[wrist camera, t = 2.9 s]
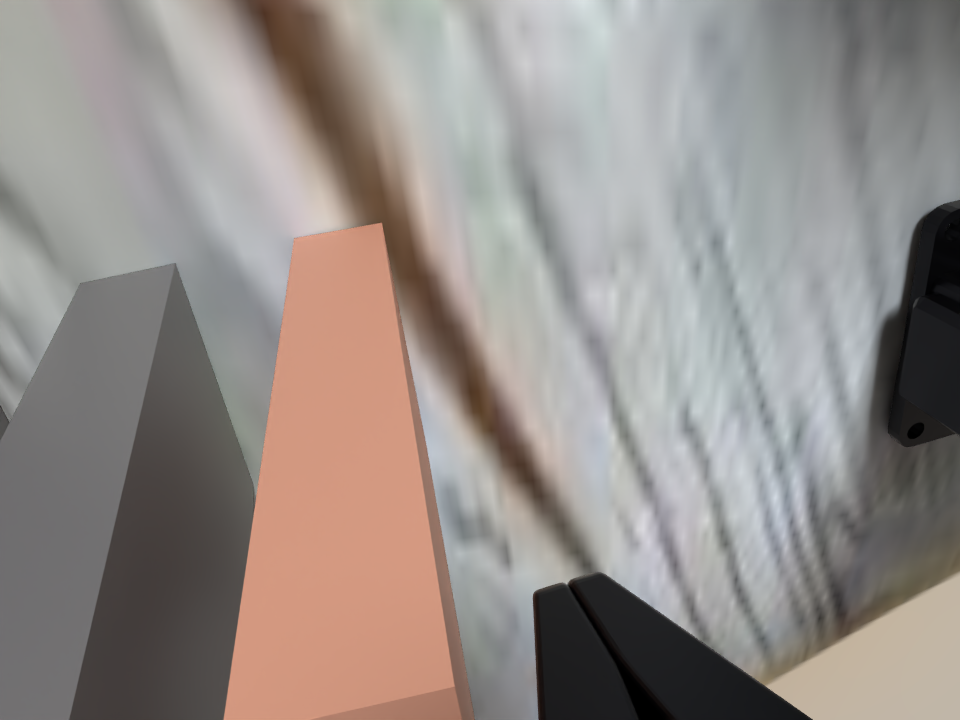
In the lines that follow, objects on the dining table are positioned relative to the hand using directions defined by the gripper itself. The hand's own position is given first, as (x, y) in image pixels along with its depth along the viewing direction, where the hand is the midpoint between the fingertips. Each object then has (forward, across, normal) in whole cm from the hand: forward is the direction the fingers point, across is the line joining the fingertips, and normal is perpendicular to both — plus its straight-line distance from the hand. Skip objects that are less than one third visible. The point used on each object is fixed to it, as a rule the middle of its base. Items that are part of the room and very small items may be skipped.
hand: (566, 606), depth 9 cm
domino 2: (+8, +1, 0) cm, 8 cm away
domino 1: (+8, +5, 0) cm, 9 cm away
